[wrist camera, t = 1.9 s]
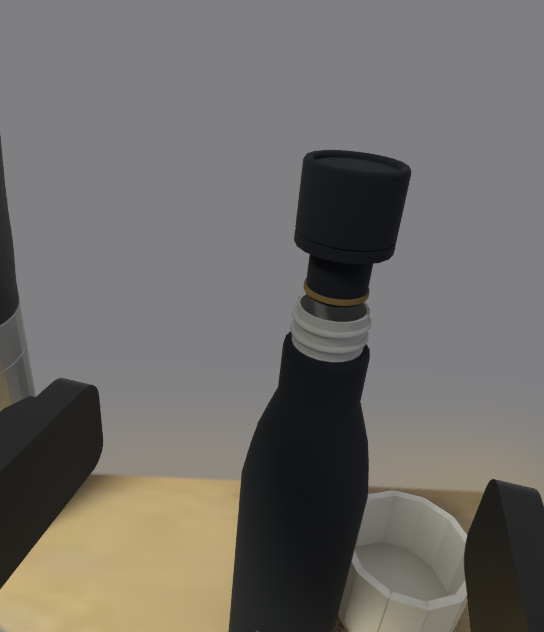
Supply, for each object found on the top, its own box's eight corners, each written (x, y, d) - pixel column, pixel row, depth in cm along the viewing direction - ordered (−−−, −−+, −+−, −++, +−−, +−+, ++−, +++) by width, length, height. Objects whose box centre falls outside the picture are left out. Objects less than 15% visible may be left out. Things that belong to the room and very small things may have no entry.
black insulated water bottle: (307, 581, 36) (393, 146, 21) (344, 679, 30) (489, 184, 16) (219, 602, 34) (248, 139, 20) (241, 709, 28) (303, 181, 14)
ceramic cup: (322, 639, 32) (335, 583, 29) (338, 532, 40) (350, 479, 37) (457, 681, 31) (485, 626, 28) (448, 561, 38) (469, 508, 35)
